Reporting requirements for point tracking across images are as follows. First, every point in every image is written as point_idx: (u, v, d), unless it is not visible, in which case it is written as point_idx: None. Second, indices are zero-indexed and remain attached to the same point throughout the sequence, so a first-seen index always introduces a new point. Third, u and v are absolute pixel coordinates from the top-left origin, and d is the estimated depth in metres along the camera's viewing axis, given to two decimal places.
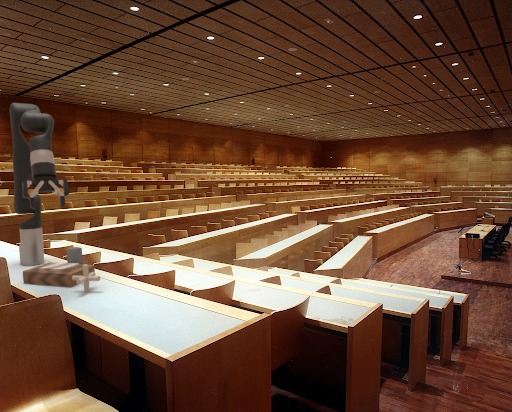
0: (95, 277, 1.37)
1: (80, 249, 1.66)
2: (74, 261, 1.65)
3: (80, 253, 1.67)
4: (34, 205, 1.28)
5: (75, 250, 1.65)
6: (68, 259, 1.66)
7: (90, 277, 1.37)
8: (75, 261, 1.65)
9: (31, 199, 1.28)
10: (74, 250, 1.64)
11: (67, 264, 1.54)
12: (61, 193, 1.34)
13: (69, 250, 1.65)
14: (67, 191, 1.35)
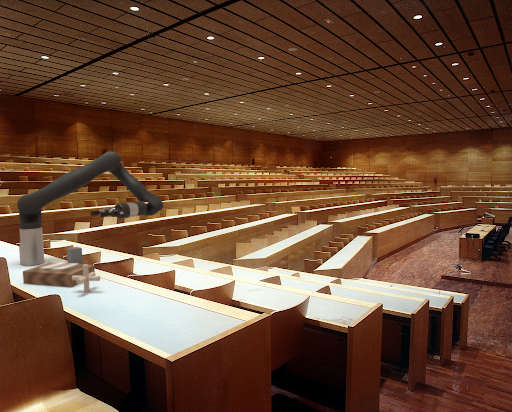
0: (95, 277, 1.37)
1: (80, 249, 1.66)
2: (74, 261, 1.65)
3: (80, 253, 1.67)
4: None
5: (75, 250, 1.65)
6: (68, 259, 1.66)
7: (90, 277, 1.37)
8: (75, 261, 1.65)
9: (108, 215, 1.73)
10: (74, 250, 1.64)
11: (67, 264, 1.54)
12: (100, 214, 1.80)
13: (69, 250, 1.65)
14: None
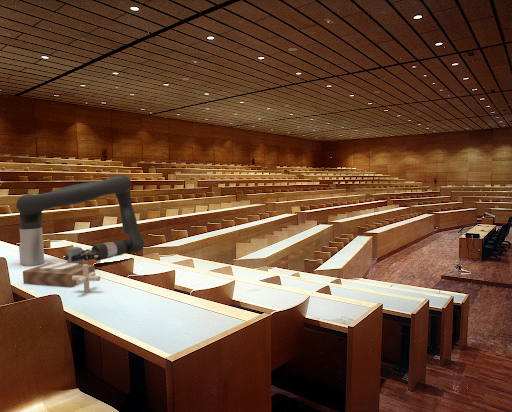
0: (95, 277, 1.37)
1: (80, 249, 1.66)
2: (74, 261, 1.65)
3: (80, 253, 1.67)
4: None
5: (75, 250, 1.65)
6: (68, 258, 1.66)
7: (90, 277, 1.37)
8: (75, 261, 1.65)
9: (79, 259, 1.65)
10: (74, 250, 1.64)
11: (67, 264, 1.54)
12: None
13: (69, 250, 1.65)
14: None
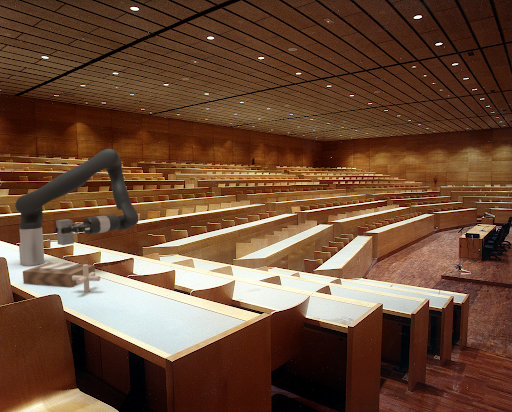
0: (95, 277, 1.37)
1: (71, 221, 1.57)
2: (65, 233, 1.55)
3: (71, 225, 1.57)
4: None
5: (65, 222, 1.55)
6: (58, 231, 1.56)
7: (90, 277, 1.37)
8: (65, 233, 1.55)
9: (70, 231, 1.56)
10: (64, 222, 1.54)
11: (67, 264, 1.54)
12: None
13: (59, 222, 1.55)
14: None
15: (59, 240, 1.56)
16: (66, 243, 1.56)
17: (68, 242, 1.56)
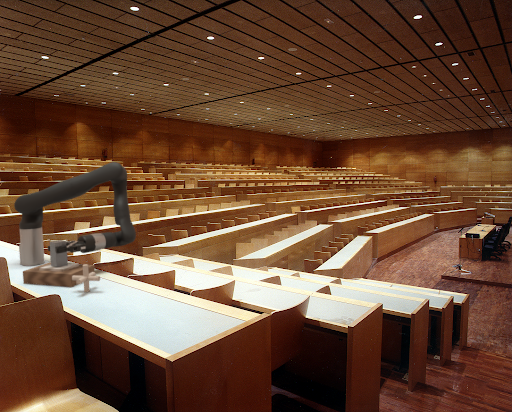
0: (95, 277, 1.37)
1: (64, 242, 1.51)
2: (58, 255, 1.50)
3: None
4: None
5: (59, 243, 1.50)
6: (51, 253, 1.51)
7: (90, 277, 1.37)
8: (59, 255, 1.50)
9: (65, 251, 1.50)
10: (58, 243, 1.49)
11: None
12: None
13: (52, 243, 1.50)
14: None
15: (52, 262, 1.51)
16: (60, 265, 1.50)
17: (62, 264, 1.51)
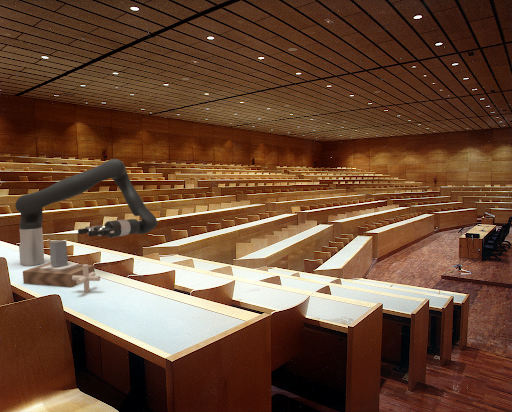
0: (95, 277, 1.37)
1: (64, 242, 1.51)
2: (58, 255, 1.50)
3: (64, 247, 1.52)
4: None
5: (59, 243, 1.50)
6: (51, 253, 1.51)
7: (90, 277, 1.37)
8: (59, 255, 1.50)
9: (97, 234, 1.60)
10: (58, 243, 1.49)
11: None
12: None
13: (52, 243, 1.50)
14: None
15: (52, 262, 1.51)
16: (60, 265, 1.50)
17: (62, 264, 1.51)
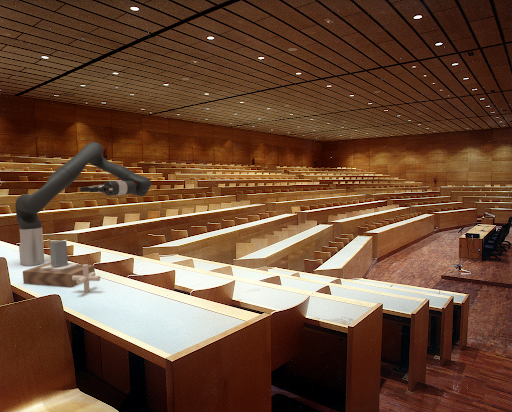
0: (95, 277, 1.37)
1: (64, 242, 1.51)
2: (58, 255, 1.50)
3: (64, 247, 1.52)
4: None
5: (59, 243, 1.50)
6: (51, 253, 1.51)
7: (90, 277, 1.37)
8: (59, 255, 1.50)
9: (97, 191, 1.78)
10: (58, 243, 1.49)
11: None
12: (89, 191, 1.85)
13: (52, 243, 1.50)
14: None
15: (52, 262, 1.51)
16: (60, 265, 1.50)
17: (62, 264, 1.51)
